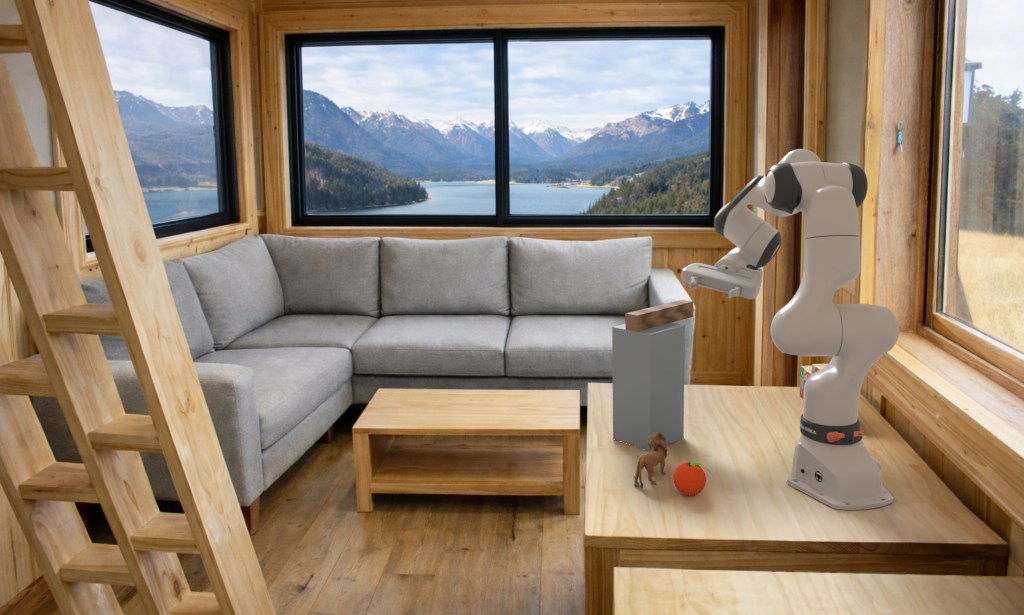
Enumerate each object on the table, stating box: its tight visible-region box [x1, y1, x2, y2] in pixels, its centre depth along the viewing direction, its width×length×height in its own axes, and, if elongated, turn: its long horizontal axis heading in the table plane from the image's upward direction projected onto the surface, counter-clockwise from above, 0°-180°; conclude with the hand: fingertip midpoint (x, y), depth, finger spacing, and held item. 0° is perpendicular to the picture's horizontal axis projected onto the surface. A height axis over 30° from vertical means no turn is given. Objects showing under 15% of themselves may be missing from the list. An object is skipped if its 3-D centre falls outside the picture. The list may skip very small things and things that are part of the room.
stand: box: [611, 322, 686, 452], centre depth 210 cm, size 13×12×29 cm
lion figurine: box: [633, 432, 668, 490], centre depth 187 cm, size 15×5×9 cm, turn 156°
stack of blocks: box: [799, 363, 829, 400], centre depth 231 cm, size 21×6×12 cm, turn 0°
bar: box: [624, 299, 694, 332], centre depth 209 cm, size 22×4×4 cm, turn 131°
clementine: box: [672, 461, 711, 496], centre depth 179 cm, size 8×7×7 cm
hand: (709, 290), depth 214 cm, fingers open, 8 cm apart
